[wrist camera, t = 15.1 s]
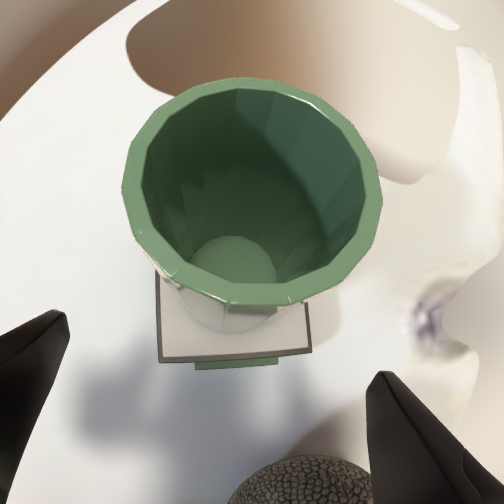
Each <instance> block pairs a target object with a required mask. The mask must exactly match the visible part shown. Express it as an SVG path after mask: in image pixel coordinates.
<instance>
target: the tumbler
mask: <svg viewBox="0 0 504 504" xmlns="http://www.w3.org/2000/svg"><path fill="white" fill-rule="evenodd" d="M121 189H122V191H121V193H122V197H123V201H124V205H125V208H126V212H127V216H128V219H129V223H130V226H131V230H132V233H133V236H134V238H135V240H136V242H137V243H138V245H139V246H140V247H141V249H142V250H143V252H144V253H145V255H146V256H147V257H148V259H149V260H150V262H151V263H152V265H153V266H154V267H155V269H156V270H157V271H158V273H159V274H160V276H161V277H162V278H163V280H164V281H165V283H166V284H167V285H168V287H169V288H170V289H171V291H172V292H173V293H174V295H175V296H176V297H177V299H178V300H179V301H180V303H181V304H182V305H183V307H184V308H185V309H186V310H187V311H188V312H189V313H190V315H191V316H192V317H193V318H194V319H195V320H196V321H197V322H198V323H199V324H201V325H203V326H205V327H207V328H209V329H211V330H214V331H216V332H219V333H229V334H233V333H244V332H247V331H249V330H252V329H254V328H256V327H259V326H261V325H263V324H265V323H267V322H269V321H271V320H273V319H275V318H277V317H279V316H281V315H283V314H285V313H287V312H289V311H291V310H293V309H294V308H296V307H298V306H300V305H302V304H304V303H306V302H308V301H309V300H311V299H313V298H315V297H317V296H319V295H321V294H322V293H324V292H326V291H328V290H330V289H332V288H333V287H335V286H337V285H338V284H339V283H341V282H342V281H343V280H344V279H345V278H346V277H347V276H348V275H349V273H350V272H351V271H352V270H353V269H354V268H355V266H356V265H357V264H358V263H359V262H360V260H361V259H362V258H363V257H364V256H365V254H366V253H367V252H368V251H369V250H370V248H371V246H372V244H373V242H374V238H375V234H376V230H377V226H378V222H379V218H380V214H381V209H382V205H383V202H382V201H383V198H382V192H381V187H380V181H379V176H378V171H377V166H376V162H375V160H374V157H373V155H372V154H371V152H370V150H369V149H368V147H367V146H366V144H365V142H364V141H363V139H362V138H361V136H360V134H359V133H358V131H357V130H356V128H355V127H354V125H353V124H351V122H350V121H349V120H348V119H346V118H345V117H344V116H343V115H342V114H340V113H339V112H338V111H337V110H335V109H334V108H333V107H332V106H330V105H329V104H328V103H327V102H325V101H324V100H323V99H321V98H320V97H318V96H317V95H314V94H312V93H309V92H307V91H304V90H302V89H299V88H297V87H294V86H292V85H289V84H286V83H284V82H281V81H277V80H269V79H268V80H267V79H256V78H243V77H236V78H234V77H233V78H228V79H223V80H218V81H214V82H209V83H205V84H201V85H197V86H194V87H193V88H189V89H188V90H186V91H184V92H183V93H181V94H179V95H178V96H176V97H175V98H173V99H171V100H170V101H168V102H167V103H165V104H164V105H162V106H160V107H159V108H157V110H155V111H154V112H153V114H152V115H151V116H150V118H149V119H148V120H147V122H146V123H145V124H144V126H143V127H142V128H141V130H140V131H139V132H138V134H137V135H136V137H135V138H134V139H133V141H132V142H131V145H130V147H129V151H128V156H127V161H126V165H125V170H124V175H123V181H122V186H121Z"/></svg>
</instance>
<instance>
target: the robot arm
mask: <svg viewBox="0 0 504 504" xmlns="http://www.w3.org/2000/svg"><path fill="white" fill-rule="evenodd" d="M69 339H70V332H69V327H68V322H67V317H66V314H65V313H64V312H61V311H58V310H55V309H52V310H50V311H48V312H46V313H44V314H42V315H40V316H38V317H36V318H34V319H32V320H30V321H28V322H26V323H24V324H22V325H20V326H19V327H17V328H15V329H13V330H11V331H9V332H7V333H5V334H3V335H1V336H0V504H6V501H7V498H8V495H9V494H8V493H9V491H10V488H11V485H12V483H13V480H14V477H15V474H16V471H17V468H18V466H19V463H20V460H21V458H22V455H23V453H24V450H25V447H26V445H27V442H28V440H29V438H30V435H31V433H32V430H33V428H34V426H35V423H36V421H37V419H38V416H39V414H40V412H41V410H42V407H43V405H44V403H45V401H46V399H47V396H48V394H49V392H50V390H51V388H52V386H53V383H54V381H55V378H56V375H57V372H58V370H59V367H60V364H61V361H62V359H63V356H64V353H65V351H66V348H67V345H68V343H69ZM366 422H367V444H368V453H369V461H370V470H371V480H372V491H373V502H374V504H504V485H503V484H502V483H501V482H499V481H498V480H497V479H496V478H495V477H494V476H492V474H491V473H489V472H488V471H487V470H486V469H485V468H484V467H483V466H482V465H481V464H480V463H479V462H478V461H477V460H476V459H475V458H474V457H473V456H472V455H471V454H470V453H469V452H468V450H466V448H464V446H463V445H462V444H461V443H460V442H459V441H458V440H457V439H456V438H455V437H454V436H453V435H452V433H451V432H450V431H449V430H448V429H447V428H446V427H445V426H444V425H443V424H442V423H441V422H440V421H439V420H438V419H437V418H436V417H435V415H434V414H433V413H432V412H431V411H430V410H429V409H428V408H427V407H426V406H425V405H424V404H423V403H422V402H421V401H420V400H419V399H418V398H417V397H416V396H415V395H414V393H413V392H412V391H411V390H410V389H409V388H408V387H407V386H406V385H405V384H404V383H403V382H402V381H401V380H400V379H399V378H398V377H397V376H396V375H395V374H394V373H393V372H391V371H379V372H378V373H377V374H376V376H375V377H374V379H373V380H372V382H371V383H370V385H369V386H368V388H367V390H366Z"/></svg>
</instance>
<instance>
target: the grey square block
mask: <svg viewBox="0 0 504 504" xmlns="http://www.w3.org/2000/svg"><path fill="white" fill-rule="evenodd" d="M155 285H156V322H157V343H158V360H159V363H191V362H194V364H195V370H208V369H226V368H240V367H253V366H264V365H275V364H278V357H279V356H289V355H298V354H306V353H312V343H311V333H310V322H309V313H308V303H307V302H306V303H304V304H302V305H300V306H298V307H296V308H294V309H293V310H291V311H289V312H287V313H285V314H283V315H281V316H279V317H277V318H275V319H273V320H271V321H269V322H267V323H265V324H263V325H261V326H259V327H256V328H254V329H252V330H249V331H247V332H244V333H233V334H229V333H219V332H216V331H214V330H211V329H209V328H207V327H205V326H203V325H201V324H199V323H198V322H197V321H196V320H195V319H194V318H193V317H192V316H191V315H190V313H189V312H188V311H187V310H186V309H185V308H184V307H183V305H182V304H181V303H180V301H179V300H178V299H177V297H176V296H175V295H174V293H173V292H172V291H171V289H170V288H169V287H168V285H167V284H166V283H165V281H164V280H163V278H162V277H161V276H160V274H159V273H158V271H157V270H156V269H155Z"/></svg>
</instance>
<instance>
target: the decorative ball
mask: <svg viewBox="0 0 504 504" xmlns="http://www.w3.org/2000/svg"><path fill="white" fill-rule="evenodd" d="M227 504H374V502H373V491H372V480H371V475H370V474H369V473H368V472H366V471H365V470H364V469H362V468H360V467H359V466H357V465H355V464H353V463H351V462H348V461H345V460H342V459H338V458H334V457H328V456H318V455H307V456H297V457H292V458H288V459H284V460H281V461H278V462H275V463H273V464H270V465H268V466H266V467H264V468H262V469H261V470H259V471H257V472H256V473H254V474H253V475H251V476H250V477H249V478H248V479H246V480H245V481H244V482H243V483H242V484H241V485H240V486H239V487H238V488H237V490H236V491H235V492H234V493H233V495H232V496H231V498H230V500H229V501H228V503H227Z"/></svg>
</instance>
